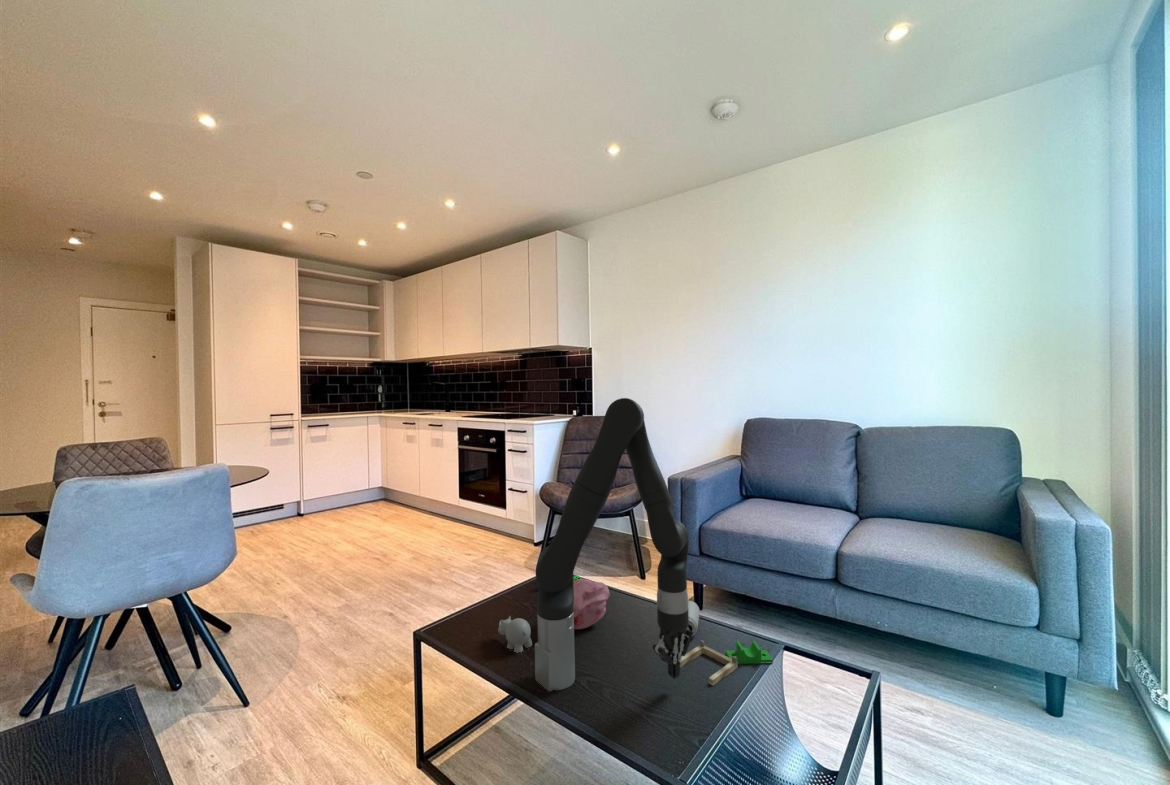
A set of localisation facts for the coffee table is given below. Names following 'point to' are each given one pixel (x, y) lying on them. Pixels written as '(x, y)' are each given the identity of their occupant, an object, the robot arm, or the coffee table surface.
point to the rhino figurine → (516, 633)
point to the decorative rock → (589, 602)
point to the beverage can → (693, 616)
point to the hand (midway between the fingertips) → (674, 675)
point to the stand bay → (702, 649)
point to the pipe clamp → (749, 654)
